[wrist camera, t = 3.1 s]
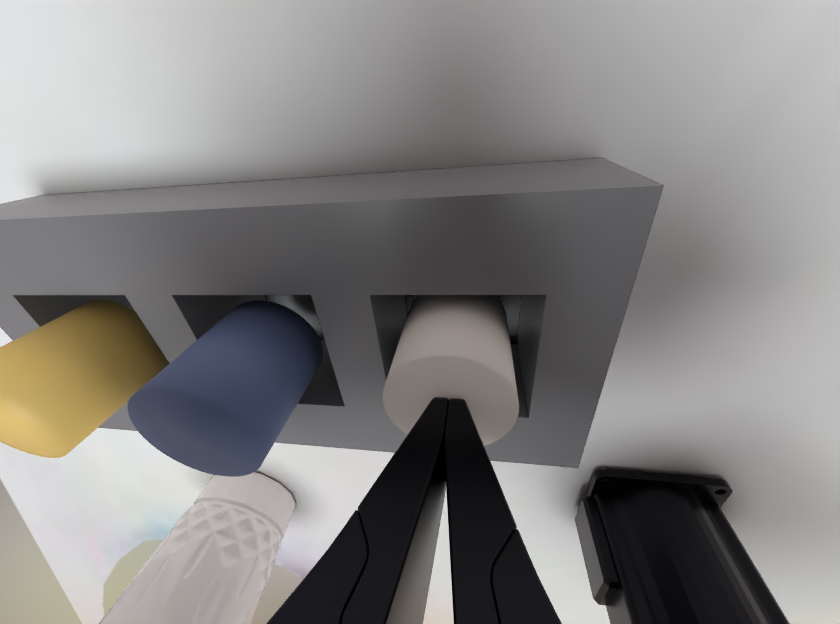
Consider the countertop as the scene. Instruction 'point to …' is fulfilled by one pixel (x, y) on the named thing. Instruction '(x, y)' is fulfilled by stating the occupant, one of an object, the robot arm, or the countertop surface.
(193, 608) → the white cup
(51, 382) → the ochre key
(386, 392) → the white key
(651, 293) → the countertop surface
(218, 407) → the navy key
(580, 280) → the key block
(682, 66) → the countertop surface
